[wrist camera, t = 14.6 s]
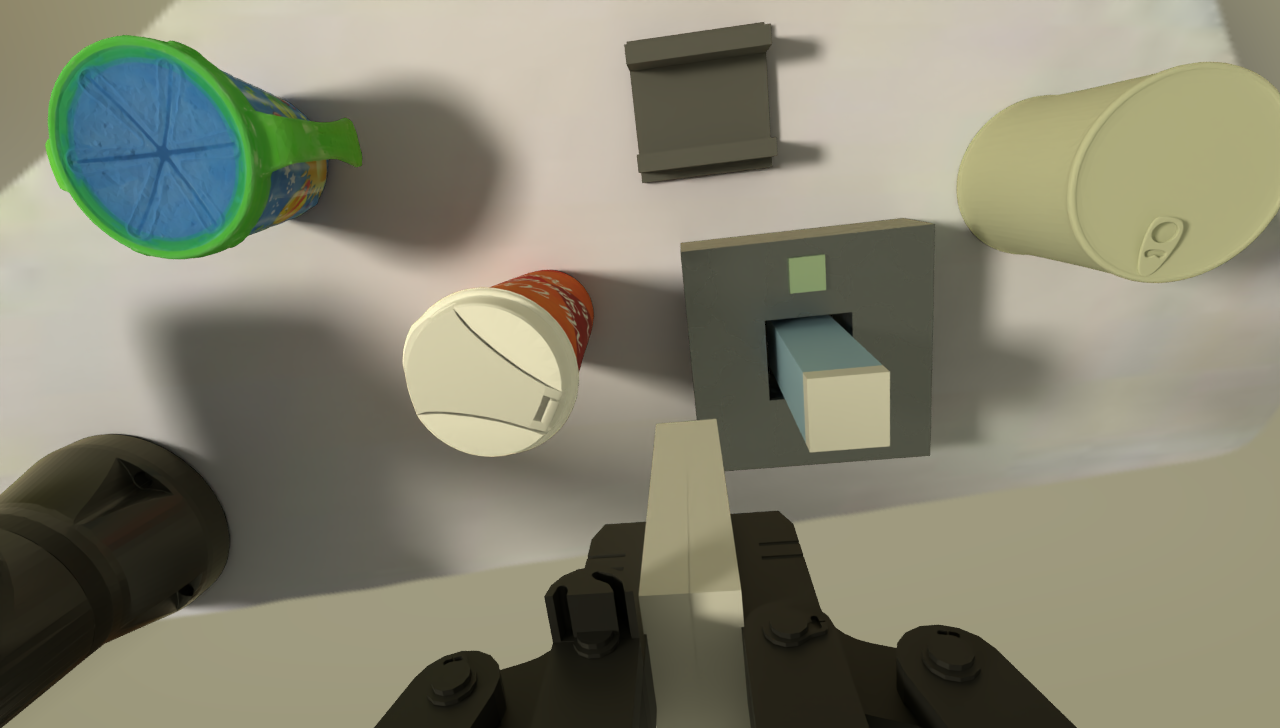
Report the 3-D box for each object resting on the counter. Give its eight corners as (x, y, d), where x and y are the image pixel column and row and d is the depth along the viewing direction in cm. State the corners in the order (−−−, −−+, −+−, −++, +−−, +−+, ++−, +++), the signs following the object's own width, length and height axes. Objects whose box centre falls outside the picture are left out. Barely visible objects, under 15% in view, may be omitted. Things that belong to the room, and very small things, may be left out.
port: (699, 440, 44) (702, 475, 39) (680, 242, 40) (680, 252, 35) (902, 424, 42) (932, 457, 37) (903, 217, 38) (936, 224, 33)
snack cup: (386, 70, 38) (284, 33, 28) (403, 243, 41) (317, 263, 31) (146, 69, 39) (-34, 33, 29) (180, 238, 42) (29, 257, 32)
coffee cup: (630, 282, 41) (602, 340, 26) (583, 388, 43) (535, 494, 29) (513, 230, 40) (420, 260, 26) (473, 341, 43) (367, 423, 28)
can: (938, 243, 39) (1045, 271, 27) (980, 86, 36) (1119, 44, 25) (1084, 263, 39) (1255, 299, 27) (1138, 106, 36) (1354, 73, 24)
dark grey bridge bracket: (642, 182, 39) (640, 183, 36) (627, 43, 37) (622, 32, 34) (770, 167, 38) (777, 166, 35) (762, 24, 36) (770, 10, 33)
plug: (768, 364, 42) (809, 452, 28) (765, 312, 41) (806, 379, 27) (822, 359, 41) (889, 446, 28) (820, 307, 40) (889, 371, 27)
